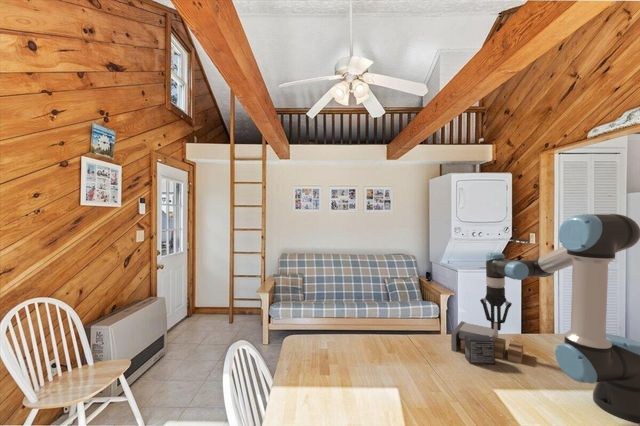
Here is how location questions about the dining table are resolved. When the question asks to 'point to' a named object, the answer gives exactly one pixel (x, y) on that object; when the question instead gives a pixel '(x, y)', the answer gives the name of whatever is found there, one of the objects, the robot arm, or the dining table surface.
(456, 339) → the bar
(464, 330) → the slab
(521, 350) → the bed
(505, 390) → the dining table surface
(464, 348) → the block
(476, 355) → the small box
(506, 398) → the dining table surface
